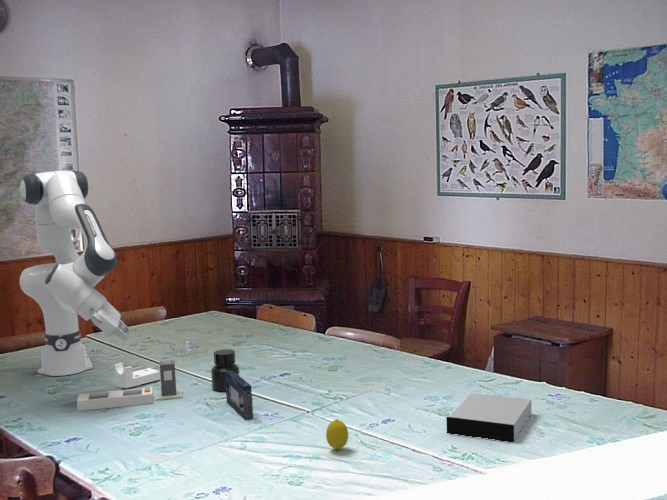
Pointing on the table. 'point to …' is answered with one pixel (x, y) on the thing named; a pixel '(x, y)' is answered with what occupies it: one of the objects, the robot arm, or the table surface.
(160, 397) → the felt pad
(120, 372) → the bracket
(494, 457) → the table surface
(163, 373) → the grey square pillar
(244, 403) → the vhs cassette tape
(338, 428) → the lemon
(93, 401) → the power strip
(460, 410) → the disc drive
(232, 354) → the ink bottle
